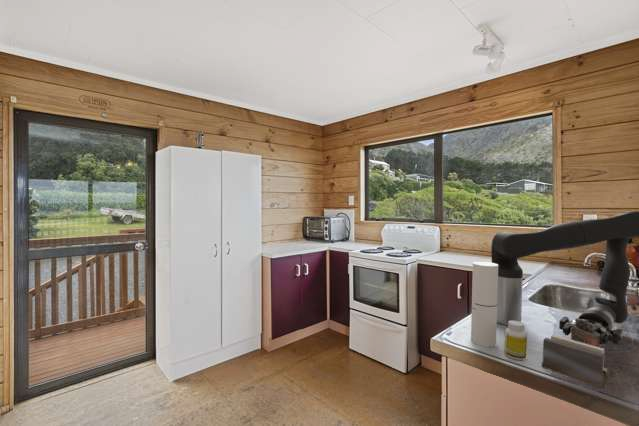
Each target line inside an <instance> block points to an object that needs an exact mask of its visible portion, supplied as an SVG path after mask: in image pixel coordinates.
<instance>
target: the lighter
mask: <svg viewBox="0 0 639 426" xmlns="http://www.w3.org/2000/svg"><path fill="white" fill-rule="evenodd" d="M574 320H575V322H576V324H571V333H570V334H571V335H570V340H574V341H578V342H581V343H585V344H589V345H592V346H596V347H600V344H599V338H600V334H599V333H597V332H595V331H593V330H597V325H595V324H592V323H589V322H588V320H582V319H579V317H578V318H575V319H574Z"/></svg>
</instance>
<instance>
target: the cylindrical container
mask: <svg viewBox="0 0 639 426" xmlns="http://www.w3.org/2000/svg"><path fill="white" fill-rule="evenodd" d="M471 285H472V286H471V287H472V288H471V324H470V325H471V326H470V327H471V329H470V341H471V342H472V343H473V344H475V345H478V346H480V347H485V348H490V347H491V348H493V347H495V346H497V327H498V323H497V295H498V264H496V263H492V261H473V262H472V282H471Z"/></svg>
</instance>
